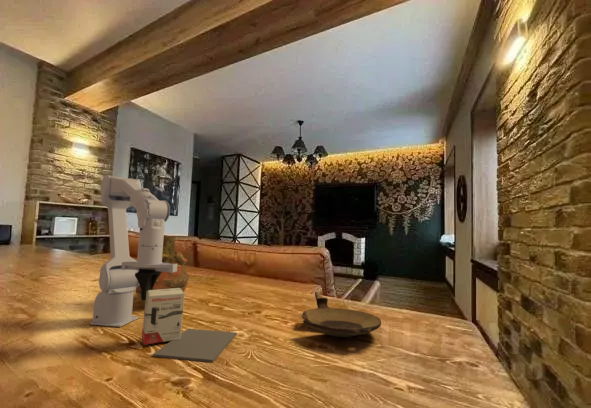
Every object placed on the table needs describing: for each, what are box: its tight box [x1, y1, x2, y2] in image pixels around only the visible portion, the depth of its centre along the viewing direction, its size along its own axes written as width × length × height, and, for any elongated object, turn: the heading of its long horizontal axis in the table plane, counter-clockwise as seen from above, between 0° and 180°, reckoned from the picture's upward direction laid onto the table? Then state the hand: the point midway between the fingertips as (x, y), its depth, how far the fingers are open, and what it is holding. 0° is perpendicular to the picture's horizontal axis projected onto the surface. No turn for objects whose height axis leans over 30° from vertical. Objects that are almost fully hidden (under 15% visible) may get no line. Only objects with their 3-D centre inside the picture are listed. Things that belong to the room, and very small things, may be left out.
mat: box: [152, 328, 238, 363], centre depth 70 cm, size 14×16×1 cm
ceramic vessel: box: [135, 235, 190, 303], centre depth 106 cm, size 17×26×25 cm, turn 172°
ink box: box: [141, 288, 186, 346], centre depth 72 cm, size 8×5×12 cm, turn 123°
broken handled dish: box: [301, 290, 382, 338], centre depth 84 cm, size 22×30×8 cm
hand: (146, 299), depth 72 cm, fingers closed, pressing on ink box
